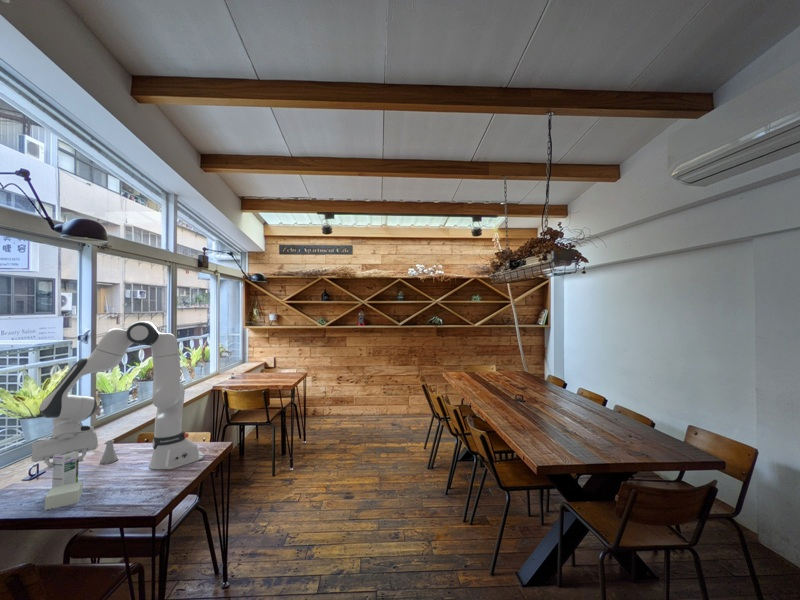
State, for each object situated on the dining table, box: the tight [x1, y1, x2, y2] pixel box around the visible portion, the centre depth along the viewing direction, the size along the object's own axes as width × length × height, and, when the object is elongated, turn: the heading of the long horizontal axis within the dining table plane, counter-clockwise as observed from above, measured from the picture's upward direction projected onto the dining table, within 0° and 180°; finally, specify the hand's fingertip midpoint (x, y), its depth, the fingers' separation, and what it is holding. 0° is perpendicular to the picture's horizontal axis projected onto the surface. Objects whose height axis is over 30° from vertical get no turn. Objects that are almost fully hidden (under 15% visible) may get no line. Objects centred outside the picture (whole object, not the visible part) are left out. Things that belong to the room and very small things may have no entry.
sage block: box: [44, 480, 84, 511], centre depth 133 cm, size 9×9×5 cm
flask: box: [99, 439, 119, 465], centre depth 170 cm, size 7×7×10 cm
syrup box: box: [51, 450, 80, 488], centre depth 142 cm, size 6×6×14 cm
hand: (65, 464), depth 142 cm, fingers closed on syrup box, 8 cm apart
